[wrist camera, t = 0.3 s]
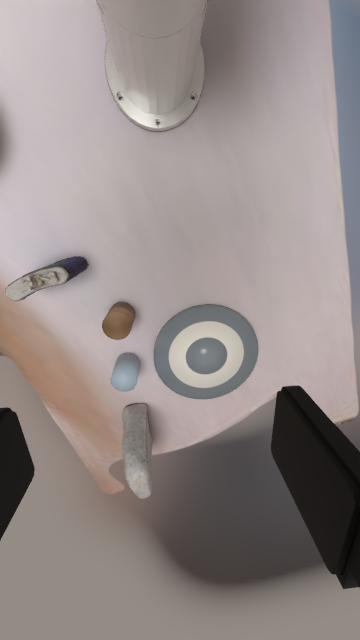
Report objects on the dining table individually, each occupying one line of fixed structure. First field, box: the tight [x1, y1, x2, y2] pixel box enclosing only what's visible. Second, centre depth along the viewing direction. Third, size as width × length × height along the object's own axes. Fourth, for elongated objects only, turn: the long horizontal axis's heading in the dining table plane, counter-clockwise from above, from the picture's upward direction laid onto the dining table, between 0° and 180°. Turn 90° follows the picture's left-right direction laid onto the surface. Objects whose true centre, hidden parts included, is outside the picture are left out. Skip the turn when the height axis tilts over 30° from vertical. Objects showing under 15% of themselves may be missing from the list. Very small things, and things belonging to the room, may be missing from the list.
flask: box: [5, 256, 89, 301], centre depth 36 cm, size 9×3×11 cm, turn 110°
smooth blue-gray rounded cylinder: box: [111, 353, 140, 392], centre depth 45 cm, size 4×4×6 cm
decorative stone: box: [122, 403, 152, 498], centre depth 46 cm, size 11×6×15 cm, turn 7°
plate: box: [154, 305, 258, 399], centre depth 47 cm, size 20×20×1 cm
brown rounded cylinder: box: [102, 302, 135, 340], centre depth 41 cm, size 4×4×6 cm
